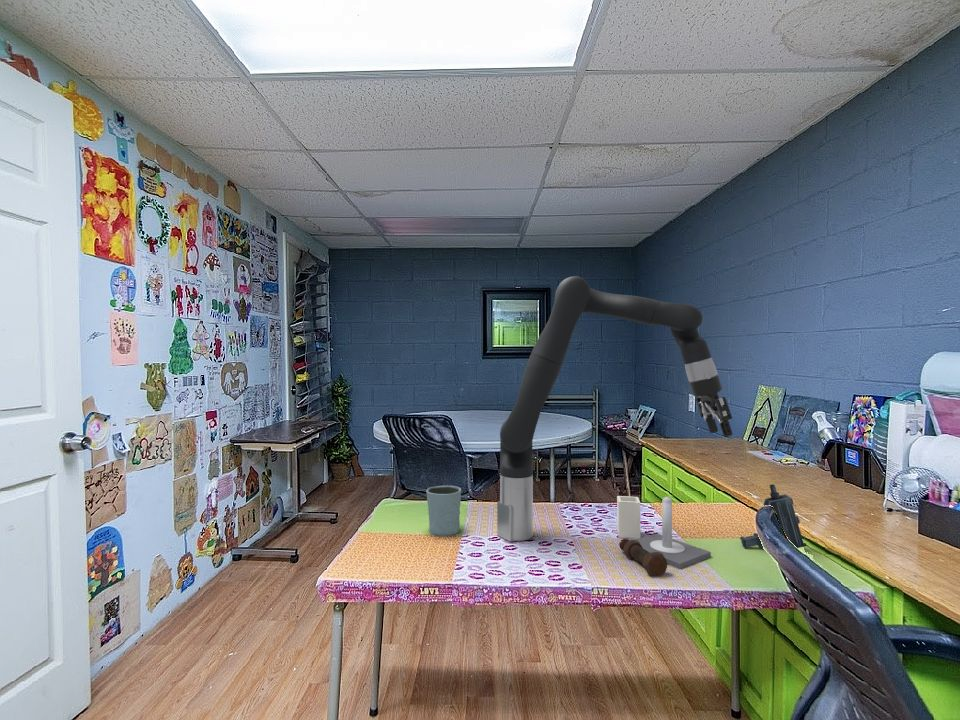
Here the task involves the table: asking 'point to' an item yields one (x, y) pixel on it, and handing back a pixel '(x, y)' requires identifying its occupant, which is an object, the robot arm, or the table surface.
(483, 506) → the table surface
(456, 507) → the drinking glass
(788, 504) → the gun
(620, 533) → the collar
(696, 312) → the robot arm
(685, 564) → the post stand
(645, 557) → the bolt
